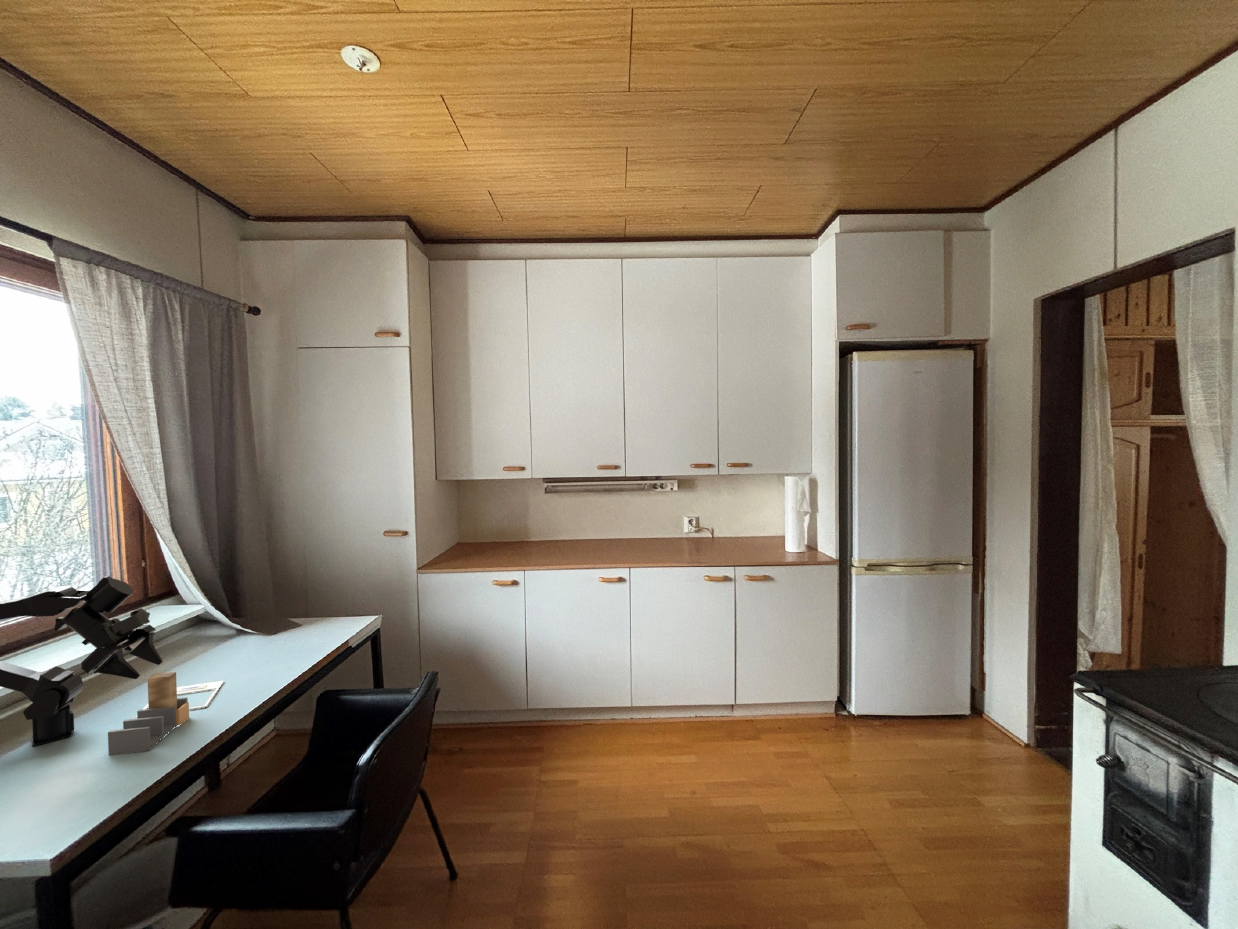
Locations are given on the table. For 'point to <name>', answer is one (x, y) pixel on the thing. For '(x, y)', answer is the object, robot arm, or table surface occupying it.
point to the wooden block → (162, 690)
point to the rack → (147, 728)
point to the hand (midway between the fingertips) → (149, 670)
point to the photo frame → (197, 689)
